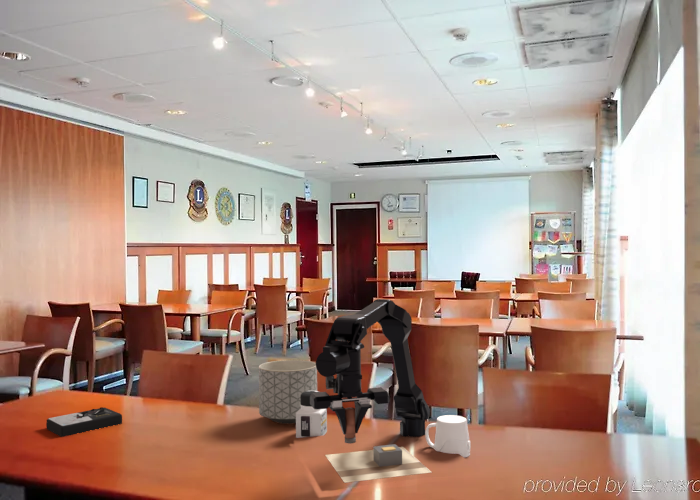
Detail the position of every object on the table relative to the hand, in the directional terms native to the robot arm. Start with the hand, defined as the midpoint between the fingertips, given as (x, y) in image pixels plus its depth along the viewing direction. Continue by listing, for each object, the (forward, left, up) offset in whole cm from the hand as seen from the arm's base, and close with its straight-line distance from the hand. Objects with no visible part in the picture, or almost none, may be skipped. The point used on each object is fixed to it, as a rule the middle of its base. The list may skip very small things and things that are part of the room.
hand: (350, 433), depth 145 cm
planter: (+6, -54, -11) cm, 56 cm away
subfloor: (-8, -4, -11) cm, 14 cm away
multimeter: (+70, -68, -11) cm, 99 cm away
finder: (-11, -4, -10) cm, 15 cm away
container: (+2, -36, -11) cm, 38 cm away
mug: (-30, -9, -11) cm, 33 cm away
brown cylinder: (0, 0, -2) cm, 2 cm away
